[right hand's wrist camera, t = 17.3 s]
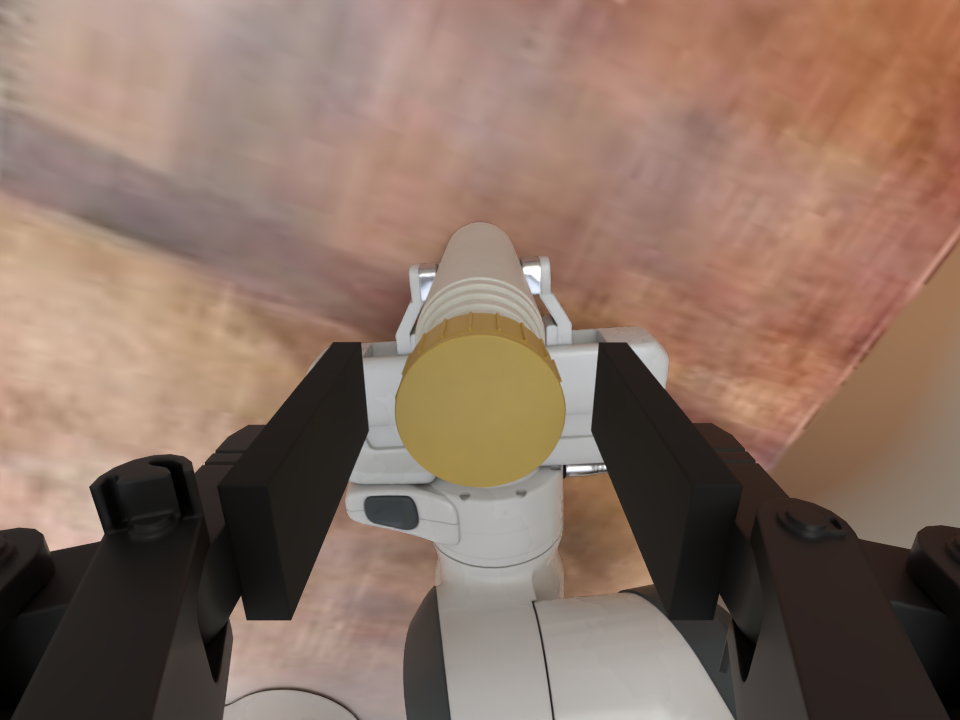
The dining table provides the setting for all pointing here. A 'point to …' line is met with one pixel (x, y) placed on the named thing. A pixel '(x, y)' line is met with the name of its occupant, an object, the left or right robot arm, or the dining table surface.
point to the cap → (480, 401)
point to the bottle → (480, 281)
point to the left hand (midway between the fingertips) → (478, 261)
